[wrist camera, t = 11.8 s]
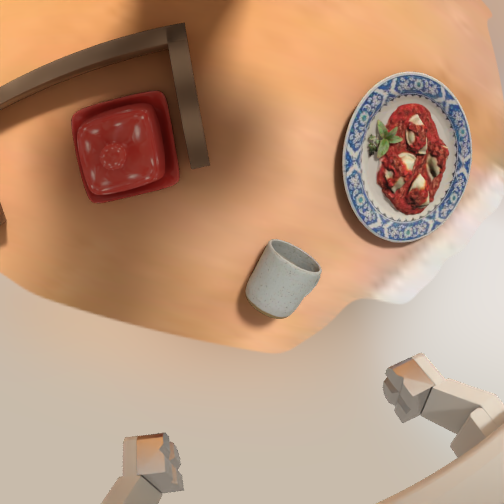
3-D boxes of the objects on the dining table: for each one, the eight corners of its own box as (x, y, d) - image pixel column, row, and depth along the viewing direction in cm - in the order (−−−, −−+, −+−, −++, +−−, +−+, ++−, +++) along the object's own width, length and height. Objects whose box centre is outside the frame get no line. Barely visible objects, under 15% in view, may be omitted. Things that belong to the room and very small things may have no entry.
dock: (-34, 114, 25) (-48, 116, 22) (183, 30, 29) (184, 22, 26) (-4, 224, 32) (-16, 234, 29) (207, 160, 36) (210, 165, 33)
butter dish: (166, 87, 32) (162, 81, 24) (182, 182, 37) (183, 203, 29) (71, 112, 30) (44, 115, 22) (92, 203, 35) (72, 229, 28)
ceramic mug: (236, 284, 44) (249, 318, 37) (262, 232, 42) (280, 259, 35) (299, 301, 48) (319, 333, 42) (325, 255, 46) (351, 283, 39)
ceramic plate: (480, 150, 44) (492, 154, 41) (405, 263, 50) (415, 271, 48) (399, 37, 33) (412, 35, 31) (297, 174, 39) (306, 179, 37)
